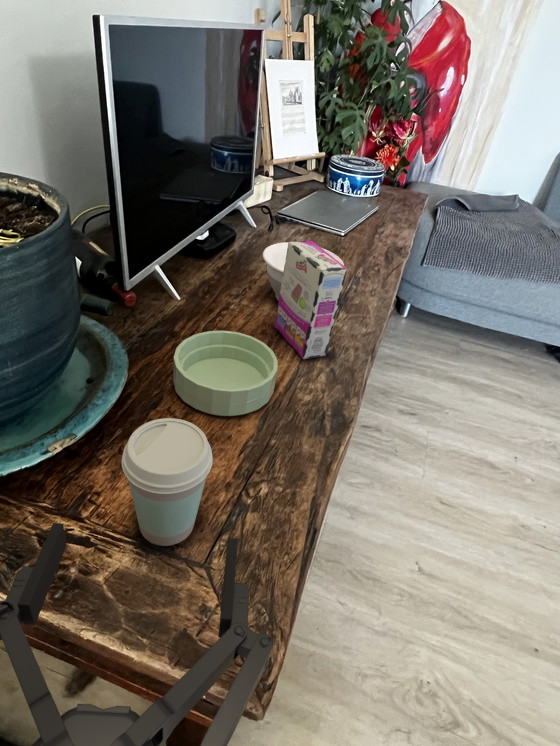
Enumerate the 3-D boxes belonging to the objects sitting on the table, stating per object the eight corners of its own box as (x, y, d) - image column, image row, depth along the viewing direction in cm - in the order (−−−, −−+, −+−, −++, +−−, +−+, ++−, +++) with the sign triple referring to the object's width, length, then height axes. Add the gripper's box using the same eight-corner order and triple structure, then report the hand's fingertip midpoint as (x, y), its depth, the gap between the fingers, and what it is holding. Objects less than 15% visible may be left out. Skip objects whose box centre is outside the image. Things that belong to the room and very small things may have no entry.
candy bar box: (327, 356, 85) (349, 268, 75) (302, 361, 82) (322, 270, 73) (296, 322, 92) (312, 238, 82) (272, 326, 90) (286, 240, 80)
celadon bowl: (165, 412, 67) (165, 384, 65) (182, 351, 79) (183, 325, 76) (272, 424, 69) (277, 396, 66) (273, 362, 81) (277, 337, 78)
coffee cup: (184, 481, 58) (188, 404, 51) (220, 535, 53) (230, 458, 46) (113, 510, 54) (106, 430, 47) (145, 572, 49) (143, 493, 42)
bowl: (281, 323, 91) (288, 281, 86) (244, 283, 102) (249, 244, 97) (350, 312, 98) (360, 273, 93) (309, 276, 109) (317, 239, 104)
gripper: (-210, 950, 24) (-6, 555, 41) (302, 955, 26) (293, 579, 43) (-295, 928, 19) (-25, 496, 36) (332, 937, 21) (308, 525, 39)
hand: (147, 540), depth 40 cm, fingers open, 13 cm apart
